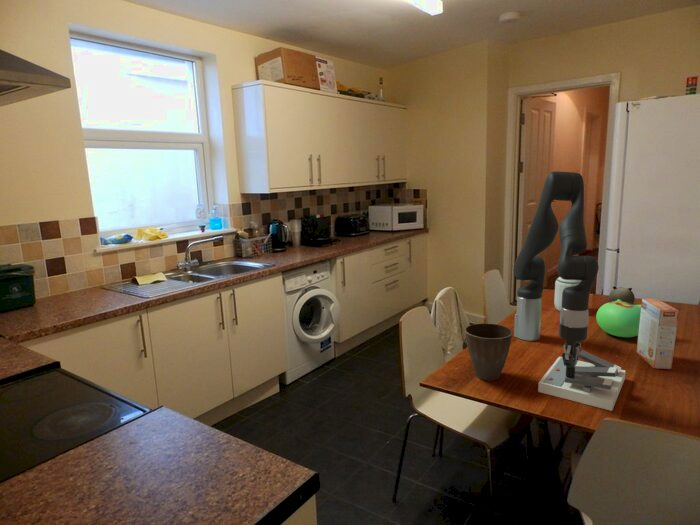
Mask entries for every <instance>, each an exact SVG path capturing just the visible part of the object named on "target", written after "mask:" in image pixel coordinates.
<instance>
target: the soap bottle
mask: <svg viewBox="0 0 700 525" xmlns="http://www.w3.org/2000/svg"><path fill="white" fill-rule="evenodd" d="M580 282H581V280H565V279H562V278H561V277H560V276H559V277H557V278H556V280H555V282H554V299H553V300H554V302H553V304H554V307H555V309H556V310H558V312H561V307H562V292H563V290H564V289H565V288H567V287H571V286H576V285H578V284H579V283H580Z"/></svg>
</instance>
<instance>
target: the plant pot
mask: <svg viewBox="0 0 700 525" xmlns="http://www.w3.org/2000/svg"><path fill="white" fill-rule="evenodd" d="M464 333H465V340H466V346H467V350H468V353H469V357H470V362H471V364H472V368H473V371H474V373H475V375H476V377H477V378H478V379H480V380H484V381H496V380H498V379H499V378H500V377H501V374H502V372H503V369H504V366H505V364H506V361H507V358H508V355H509V353H510V352H509V351H510V347H511V343H512V337H513V330H512V329H510V328H509V327H508V326H505V325H502V324H496V323H488V322H487V323H483V322H482V323H474V324H473V323H472V324H470V325H467V326H466V327H465V328H464Z"/></svg>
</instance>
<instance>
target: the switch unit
mask: <svg viewBox="0 0 700 525" xmlns="http://www.w3.org/2000/svg"><path fill="white" fill-rule="evenodd" d="M576 363H577V364H576V365H575V366H581V367H597V366H595V365H593V364H591V363H589V362H587V361H584V360H583V361H582V360H578V361H577V362H576ZM584 376H585V375H584ZM591 377H597V378H604V379H605V378H606V379H613V386H612V388H611V390H610V389H604V388H597V387H591V386H585V385H578V384H572V383H566V382H565V378H566V366H564V362H563V357H562V356H558V357H557V358H556V359H555V361H554V362H553V364H552V365H551V366H550V367H549V368H548V369H547V371H546V372H545V374H544V375H543V376H542V378H541V379H540V380H539V382H538V383H537V384H538V385H537V386H538V388H537V390H538V391H537V392H538V393H542V394H545V395H549V396H552V397H553V396H554V397H557V398H561V399H565V400H567V401H568V400H569V401H573V402H576V403H581V404H583V405H584V404H585V405H587V406H592V407H596V408H600V409H604V410H607V411H611V412H613V410H614V406H615V405H616V402H617V400H618V398H619V394H620V392H621V389H622V387H623V385H624V382H625V379H626V370H625V369H622V368H621V369H620V372H619V374H618V376H616V377H607V376H591Z"/></svg>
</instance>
